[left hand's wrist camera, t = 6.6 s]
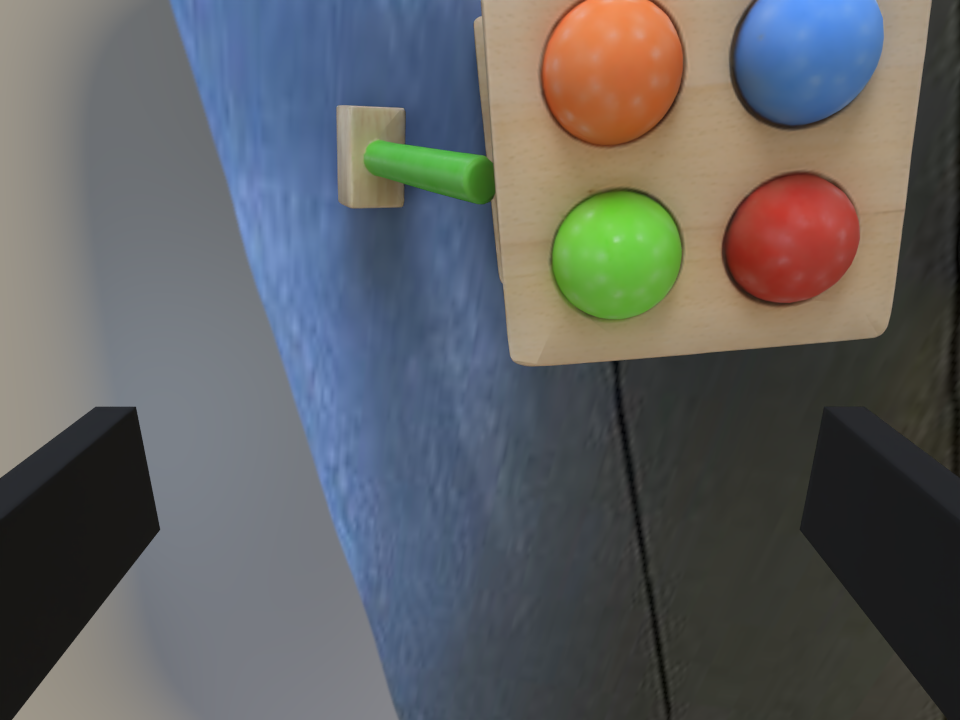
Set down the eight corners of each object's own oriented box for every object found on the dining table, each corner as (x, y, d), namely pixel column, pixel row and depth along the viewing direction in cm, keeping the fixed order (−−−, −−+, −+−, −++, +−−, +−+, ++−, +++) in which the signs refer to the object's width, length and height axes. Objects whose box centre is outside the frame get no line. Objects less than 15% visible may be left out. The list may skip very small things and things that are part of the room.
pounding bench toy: (359, 292, 40) (273, 415, 23) (317, 35, 35) (171, -40, 19) (736, 256, 40) (926, 358, 23) (746, -11, 35) (998, -133, 18)
